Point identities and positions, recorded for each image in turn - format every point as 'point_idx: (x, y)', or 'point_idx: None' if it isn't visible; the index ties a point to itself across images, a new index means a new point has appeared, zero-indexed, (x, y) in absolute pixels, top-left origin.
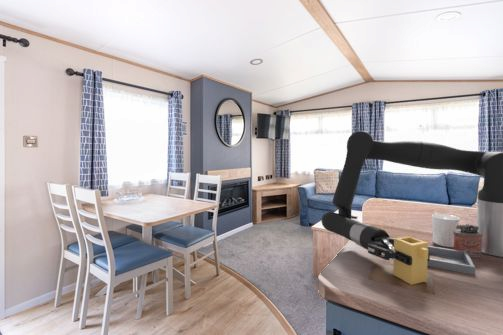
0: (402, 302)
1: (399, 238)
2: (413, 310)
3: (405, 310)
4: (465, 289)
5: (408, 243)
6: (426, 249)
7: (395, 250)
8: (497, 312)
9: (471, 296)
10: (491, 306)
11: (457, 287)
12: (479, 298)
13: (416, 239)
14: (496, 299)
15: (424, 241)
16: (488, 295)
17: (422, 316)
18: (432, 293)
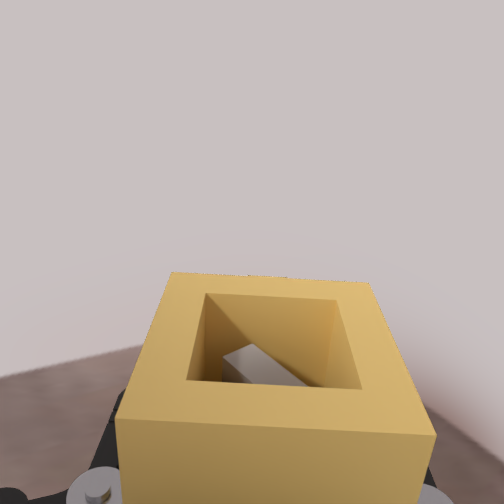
0: (459, 494)
1: (356, 406)
2: (440, 440)
3: (479, 452)
4: (27, 449)
5: (368, 306)
6: (265, 276)
7: (420, 499)
8: (142, 346)
9: (88, 412)
10: (113, 362)
11: (34, 473)
12: (79, 395)
13: (181, 327)
14: (32, 373)
15: (171, 286)
16: (15, 393)
17: (427, 410)
18: None
